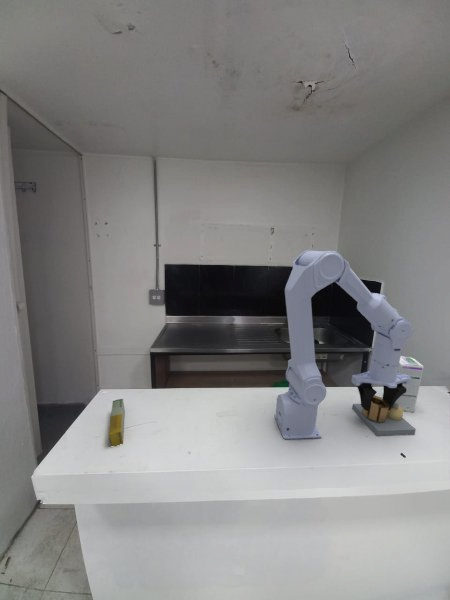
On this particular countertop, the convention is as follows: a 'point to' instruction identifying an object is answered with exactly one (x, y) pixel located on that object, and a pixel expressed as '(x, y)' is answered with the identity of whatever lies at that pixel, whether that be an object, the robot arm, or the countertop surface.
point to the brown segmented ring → (377, 409)
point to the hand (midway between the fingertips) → (375, 407)
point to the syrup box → (415, 373)
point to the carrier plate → (387, 422)
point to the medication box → (117, 423)
